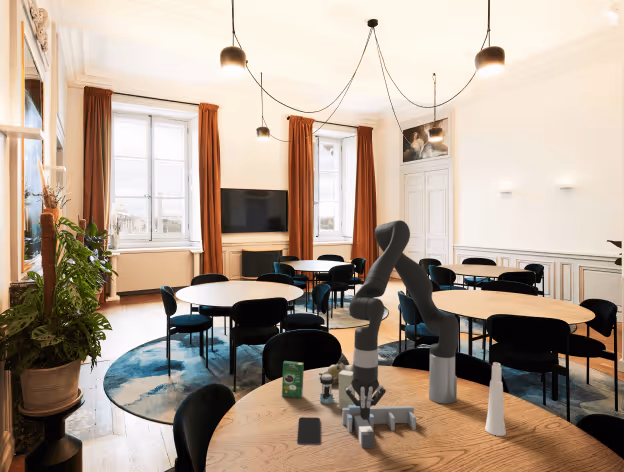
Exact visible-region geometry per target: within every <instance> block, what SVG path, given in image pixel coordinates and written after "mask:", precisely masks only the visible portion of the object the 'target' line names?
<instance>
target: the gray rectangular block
mask: <svg viewBox="0 0 624 472" xmlns="http://www.w3.org/2000/svg"><path fill="white" fill-rule="evenodd" d="M353 429H354V432H355V435H356V436H357V439H358V441H359V443H360V446H361V448H362V449H375V431H374V429H373V430H372V428H371V426H370V424H369V422H368V421H367V420H363V419H362V418H361V416H360V415H354V425H353Z"/></svg>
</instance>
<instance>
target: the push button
mask: <svg viewBox="0 0 624 472" xmlns="http://www.w3.org/2000/svg"><path fill="white" fill-rule="evenodd" d="M322 374H323V373H322ZM333 380H334V377H332V375H331V374H323V375H322V376H321V375H320V377H319V381H320V384H321V392H320V394H319V395H320V397H319V401H320V404H334V402H335V403H336V402H338V398H337V397H334V394H333V393H332V387H333V386H332V385H334V384H333Z"/></svg>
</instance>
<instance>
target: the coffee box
mask: <svg viewBox="0 0 624 472" xmlns="http://www.w3.org/2000/svg"><path fill="white" fill-rule="evenodd" d="M304 365H305V364H304V362H298V361H288V360H284V361H283V363H282V385H281V387H282V388H281V397H284V398H285V397H286V398H296V399H302V398H303V392H304V370H305V369H304V368H305V366H304Z"/></svg>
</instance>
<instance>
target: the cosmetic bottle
mask: <svg viewBox="0 0 624 472" xmlns="http://www.w3.org/2000/svg"><path fill="white" fill-rule="evenodd" d="M487 406H488V407H487V415H486V421H485V422H486V423H485V426H484V427H485V428H484V430H485V431H486V432H487V433H488V434H489V435H492V436H495V435H496V437H503V436H505V435H506V434H507V431H506V425H505V412H504V387H503V381H502V366H501V363H499V362H496V361H495V362H492V365H491V379H490V381H489V391H488V405H487Z"/></svg>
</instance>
